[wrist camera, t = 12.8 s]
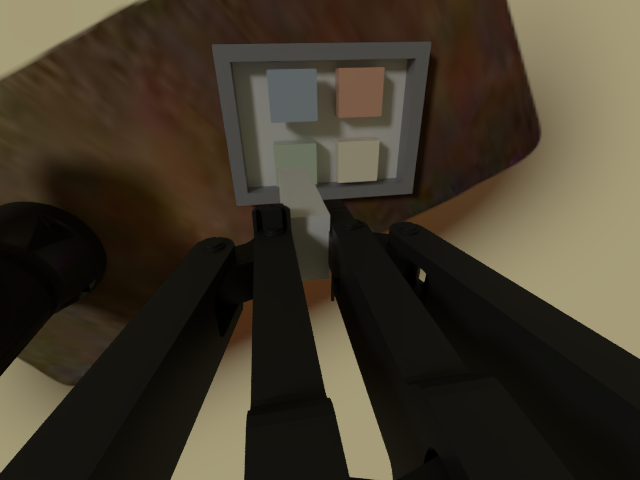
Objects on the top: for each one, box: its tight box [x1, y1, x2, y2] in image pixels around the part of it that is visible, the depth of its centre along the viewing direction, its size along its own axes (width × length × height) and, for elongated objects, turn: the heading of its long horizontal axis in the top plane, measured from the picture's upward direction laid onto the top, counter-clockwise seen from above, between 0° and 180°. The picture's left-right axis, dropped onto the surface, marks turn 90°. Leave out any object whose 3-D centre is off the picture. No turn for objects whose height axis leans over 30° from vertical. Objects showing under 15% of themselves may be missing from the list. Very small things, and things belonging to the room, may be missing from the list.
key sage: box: [273, 139, 317, 187], centre depth 41 cm, size 5×5×2 cm
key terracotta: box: [335, 67, 385, 118], centre depth 38 cm, size 5×5×2 cm
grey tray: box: [212, 42, 431, 206], centre depth 40 cm, size 24×18×3 cm
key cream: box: [335, 136, 380, 183], centre depth 41 cm, size 5×5×2 cm
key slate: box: [267, 69, 318, 123], centre depth 35 cm, size 5×5×2 cm
